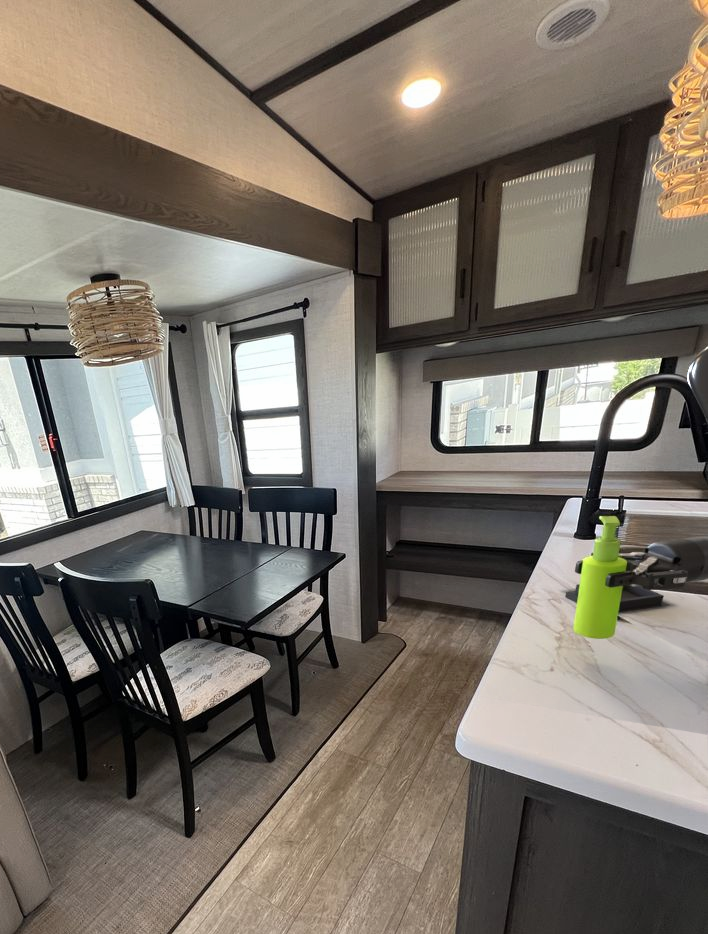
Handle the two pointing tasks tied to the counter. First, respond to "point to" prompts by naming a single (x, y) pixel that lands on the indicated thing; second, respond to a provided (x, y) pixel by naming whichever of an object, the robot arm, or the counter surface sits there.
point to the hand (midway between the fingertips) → (592, 574)
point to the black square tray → (631, 598)
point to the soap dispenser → (600, 585)
